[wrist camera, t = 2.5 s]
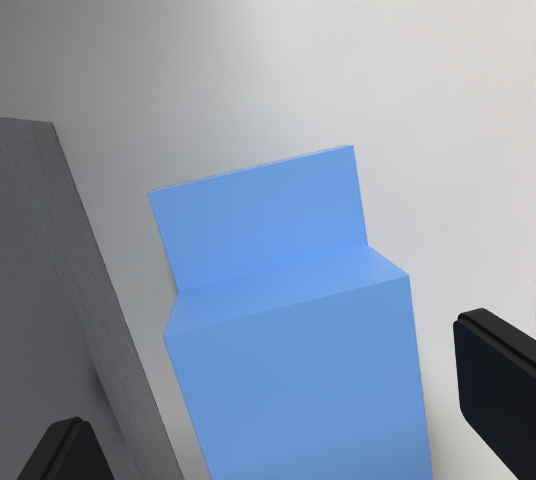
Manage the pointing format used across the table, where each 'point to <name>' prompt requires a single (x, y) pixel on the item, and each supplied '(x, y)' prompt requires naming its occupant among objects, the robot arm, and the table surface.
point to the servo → (291, 326)
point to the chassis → (64, 321)
